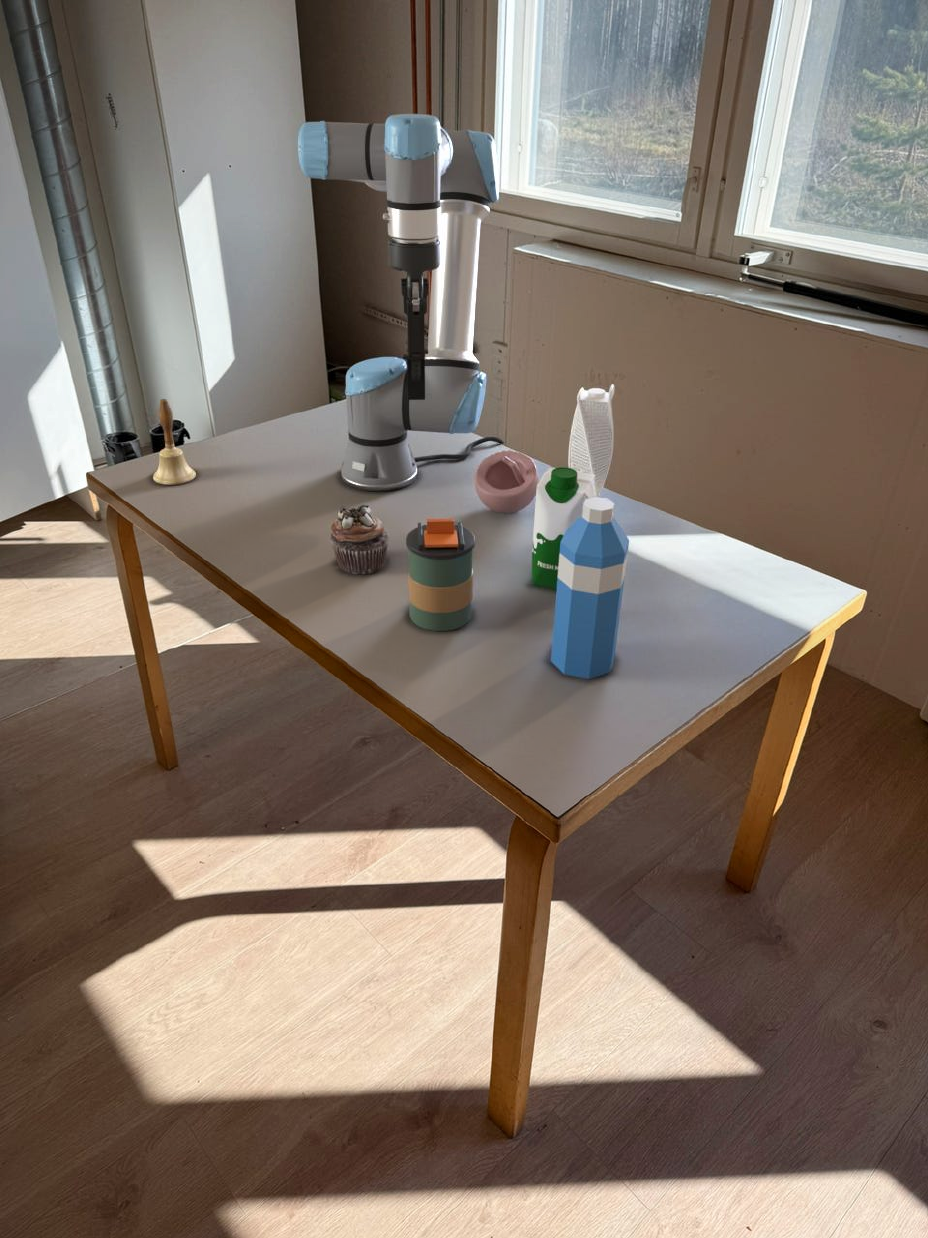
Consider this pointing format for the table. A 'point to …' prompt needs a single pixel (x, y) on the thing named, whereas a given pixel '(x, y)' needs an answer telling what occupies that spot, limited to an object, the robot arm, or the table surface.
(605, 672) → the water bottle
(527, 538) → the table surface
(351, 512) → the cupcake
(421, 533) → the mug lid
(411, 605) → the travel mug
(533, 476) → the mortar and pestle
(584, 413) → the skyscraper
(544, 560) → the milk carton
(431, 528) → the slider
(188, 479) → the hand bell
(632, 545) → the table surface
